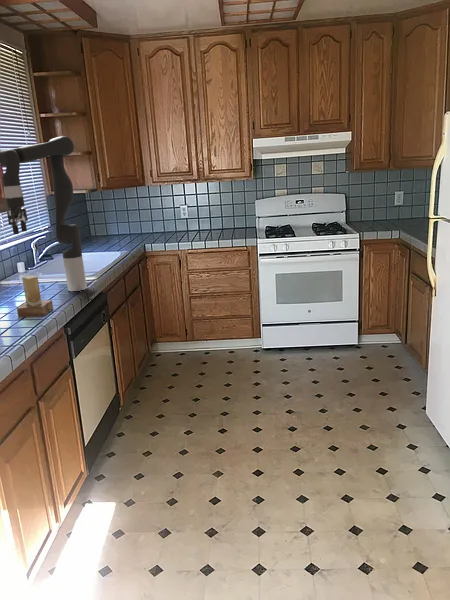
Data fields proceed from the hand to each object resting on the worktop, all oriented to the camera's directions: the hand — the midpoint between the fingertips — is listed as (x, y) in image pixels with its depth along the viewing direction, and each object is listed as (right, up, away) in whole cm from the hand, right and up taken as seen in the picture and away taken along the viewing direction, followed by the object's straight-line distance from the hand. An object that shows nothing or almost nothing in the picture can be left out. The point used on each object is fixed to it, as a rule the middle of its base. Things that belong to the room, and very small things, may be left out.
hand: (20, 232), depth 231 cm
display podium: (+11, -36, -10) cm, 39 cm away
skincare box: (+11, -33, -12) cm, 36 cm away
